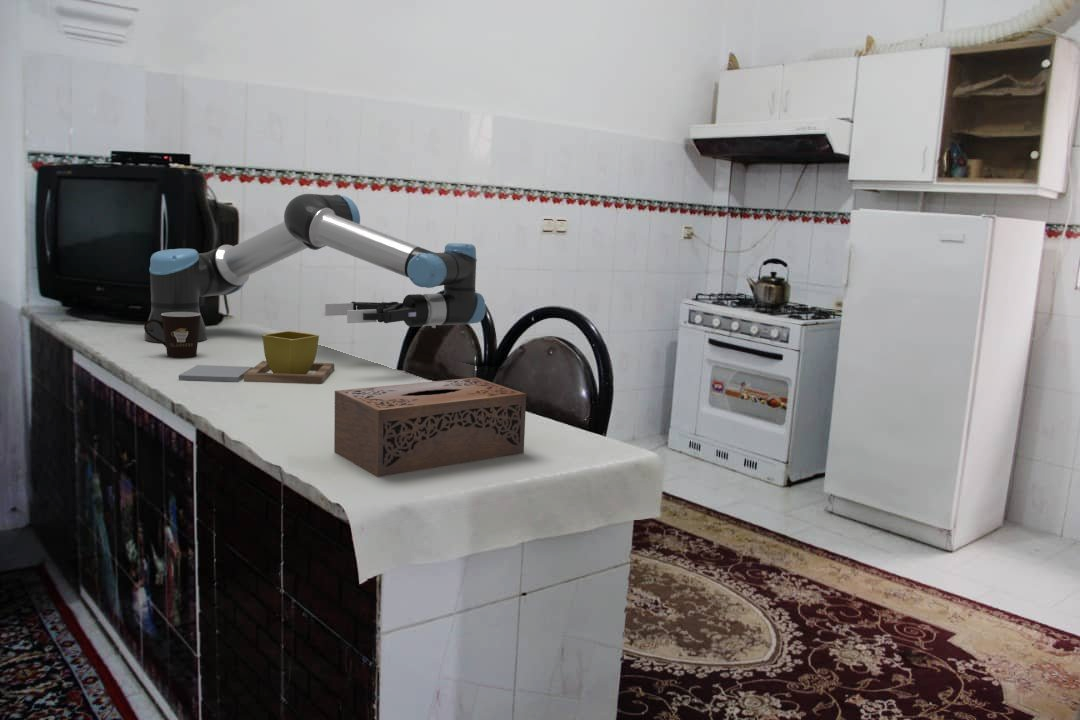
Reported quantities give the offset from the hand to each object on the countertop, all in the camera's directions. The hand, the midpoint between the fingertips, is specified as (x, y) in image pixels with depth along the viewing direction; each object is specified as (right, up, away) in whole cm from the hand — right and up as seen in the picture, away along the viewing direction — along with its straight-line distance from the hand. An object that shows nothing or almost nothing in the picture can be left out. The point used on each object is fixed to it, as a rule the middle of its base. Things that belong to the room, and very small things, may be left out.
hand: (336, 313), depth 197 cm
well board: (-9, -14, -3) cm, 17 cm away
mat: (-24, -14, -7) cm, 28 cm away
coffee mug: (-41, -10, +14) cm, 45 cm away
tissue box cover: (+28, -25, -57) cm, 69 cm away
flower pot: (-9, -14, -3) cm, 17 cm away
